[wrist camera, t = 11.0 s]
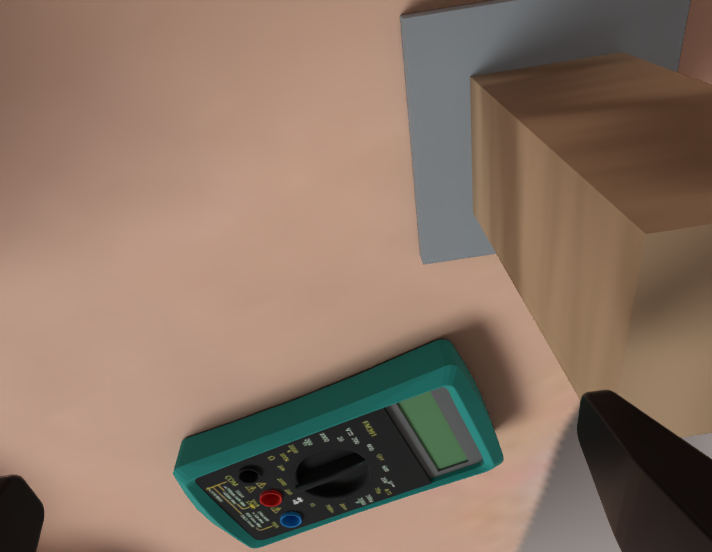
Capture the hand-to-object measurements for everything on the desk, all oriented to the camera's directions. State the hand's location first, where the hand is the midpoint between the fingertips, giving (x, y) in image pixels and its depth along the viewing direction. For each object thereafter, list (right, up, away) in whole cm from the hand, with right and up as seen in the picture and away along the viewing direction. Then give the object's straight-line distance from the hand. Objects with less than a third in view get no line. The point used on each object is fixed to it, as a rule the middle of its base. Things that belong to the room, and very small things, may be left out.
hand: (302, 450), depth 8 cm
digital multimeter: (0, -5, +20) cm, 20 cm away
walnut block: (+7, +8, +10) cm, 15 cm away
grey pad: (+7, +8, +11) cm, 15 cm away
